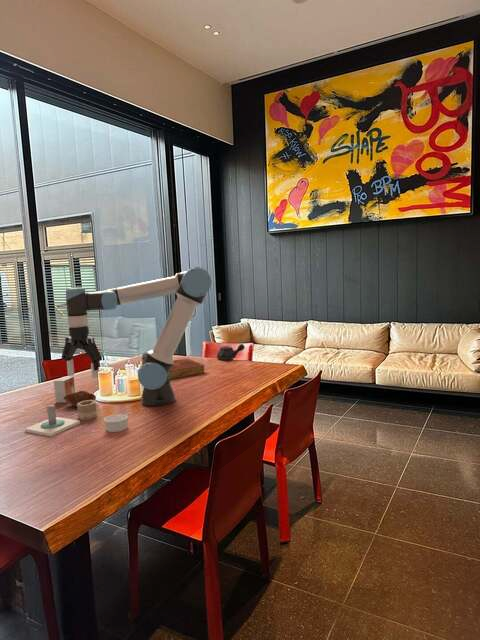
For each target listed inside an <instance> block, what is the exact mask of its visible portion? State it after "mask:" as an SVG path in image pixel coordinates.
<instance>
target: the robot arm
mask: <svg viewBox="0 0 480 640" xmlns="http://www.w3.org/2000/svg"><path fill="white" fill-rule="evenodd" d="M211 287H212V278H211V274H210V273H209V272H208V271H207V270H206V269H204V268H202V267H199V266H193V267H190V268H188V269H187V270H185V271H181V272H177V273H175V275H174V276H173V275H172V276H168V277H165V278H159V279H154V280H149V281H144V282H139V283H134V284H130V285H125V286H120V287H115V288H109V289H104V290H102V291H91V292H90V291H87V290H86V288H85V287H70V288H67V289H65V303H66V312H67V323H68V324H67V325H68V335H69V336H67V337H65V340H64V341H65V343H64V347H63V350H62V354H61V359H62V360H64V361H65V364H66V365H65V366H66V370H67V377H73V376H75V367H74V365H75V364H74V359H73V356H74V355H75V353H76V352H77V350H78V349H79V350H82V351H84V352H85V354H86V355H87V356H88V357H89V359H90V361H91V362H90V370H91V378H92V379H93V380H95V379H97V378H99V362H101V361H102V360H103V358H102V355H101V352H100V351H99V349H98V346H97V345H96V341H95V337H90V338H89V337H88V336H89V334H90V330H89V326H88V324H89V319H88V311H110V310H116V309H117V307H118V306H121V305H125V304H130V303H136V302H140V301H145V300H146V301H147V300H149V299H150V300H151V299H155V298H160V297H165V296H169V295H176V300H175V302H174V304H173V306H172V308H171V310H170V312H169V315H168V317H167V319H166V321H165V323H164V325H163V328H162V329H161V331H160V334H159V337H157V340H156V342H155V344H154V347H153V348H152V349H150V350H148V351H146V352H143V353H142V354H141V360H142V363H141V365H140V367H139V368H138V371H137V379H138V382H139V384H140V385H141V386H142V387H143V388H142V389H143V390H142V394H141V398H140V402H141V404H142V405H144V406H146V407H162V406H166V405H170V404H171V403H173V402H175V400H176V395H175V392H174V389H173V386H172V384H171V379H170V373H169V372H170V369H171V367H172V365H173V363H174V362H173V361H174V359H173V356H174V354H175V353H176V351H177V349H178V346H179V344H180V342H181V341H182V338H183V336H184V334H185V332H186V329H187V327H188V325H189V323H190V321H191V319H192V317H193V314H194V312H195V310H196V308H197V307H198V306H201V305H202V304H203V302H204V299H205V298H206V295H207V293H208V292H209V291H210V289H211Z"/></svg>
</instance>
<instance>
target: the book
mask: <svg viewBox="0 0 480 640" xmlns="http://www.w3.org/2000/svg"><path fill="white" fill-rule="evenodd" d="M173 362H174V363H173V365H172V367H171V369H170V372H169V373H170V380H172V379H177V378H179V379H180V378H184V377H188V376H193V375H199V374H205V364H203V363H200V362H197V361H196V360H192V359H191V358H181V359H176V360H174V359H173Z"/></svg>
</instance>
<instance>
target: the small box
mask: <svg viewBox="0 0 480 640" xmlns="http://www.w3.org/2000/svg"><path fill="white" fill-rule="evenodd" d="M53 387H54V397H55V403H62V404H64V403H65V404H67V402H66V401H65V400H64V399H63V398H64V397H65V396H66V395H69V394H73V393H76V388H75V387H76V385H75V377H74V376H62V377H60V378H58V379H55V380H53Z"/></svg>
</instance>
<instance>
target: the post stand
mask: <svg viewBox="0 0 480 640" xmlns="http://www.w3.org/2000/svg"><path fill="white" fill-rule="evenodd" d="M46 410H47V419H45V420H43V421H40V422H38V423H36V424H33V425H30V426H28V427H26V428H25V427H24V432H25V433H29V434H30V433H31V434H35V435H41V436H46V437H50V438H51V437H53V436H56V435H57V434H61V433H63V432H65V431H67V430H70V429H71V428H74V427H77V426H78V425H81V420H80V419H73V418H72V419H71V418H66V417H60V416H59V417H58V416H57V414H56V413H57V412H56V406H55V404H51V405H50V404H49V405H47V406H46Z"/></svg>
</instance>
